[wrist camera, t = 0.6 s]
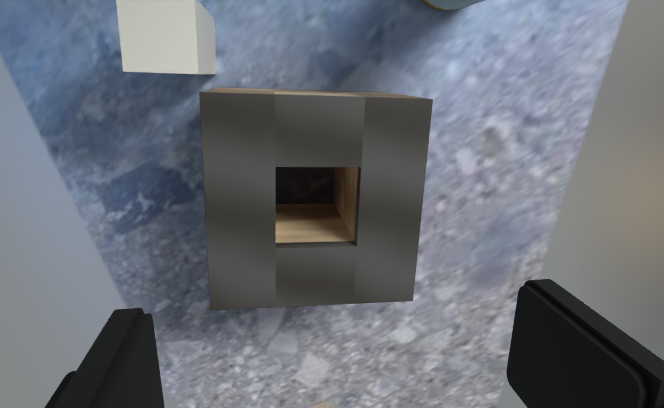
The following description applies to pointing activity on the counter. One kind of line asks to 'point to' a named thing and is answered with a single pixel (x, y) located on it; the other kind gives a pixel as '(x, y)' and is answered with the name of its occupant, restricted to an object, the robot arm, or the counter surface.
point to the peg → (166, 36)
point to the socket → (312, 219)
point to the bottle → (450, 3)
